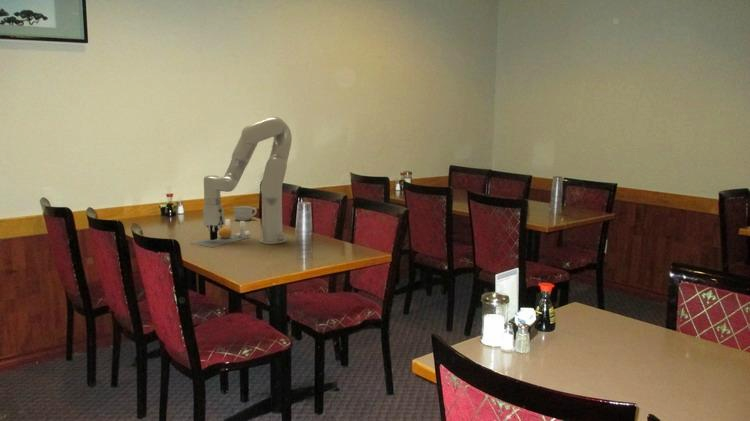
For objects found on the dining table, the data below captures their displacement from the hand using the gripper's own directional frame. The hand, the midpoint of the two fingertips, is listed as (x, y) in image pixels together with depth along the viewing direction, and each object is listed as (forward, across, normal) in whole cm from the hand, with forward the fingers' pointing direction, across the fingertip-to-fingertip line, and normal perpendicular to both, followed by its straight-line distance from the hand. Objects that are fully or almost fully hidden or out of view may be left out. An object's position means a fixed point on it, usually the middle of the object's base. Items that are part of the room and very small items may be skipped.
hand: (213, 239), depth 282 cm
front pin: (0, -2, -13) cm, 14 cm away
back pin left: (+2, -5, -14) cm, 15 cm away
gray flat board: (+2, 0, -5) cm, 5 cm away
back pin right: (+2, +5, -14) cm, 15 cm away
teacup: (+2, +28, -52) cm, 59 cm away
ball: (-2, +2, -10) cm, 10 cm away
